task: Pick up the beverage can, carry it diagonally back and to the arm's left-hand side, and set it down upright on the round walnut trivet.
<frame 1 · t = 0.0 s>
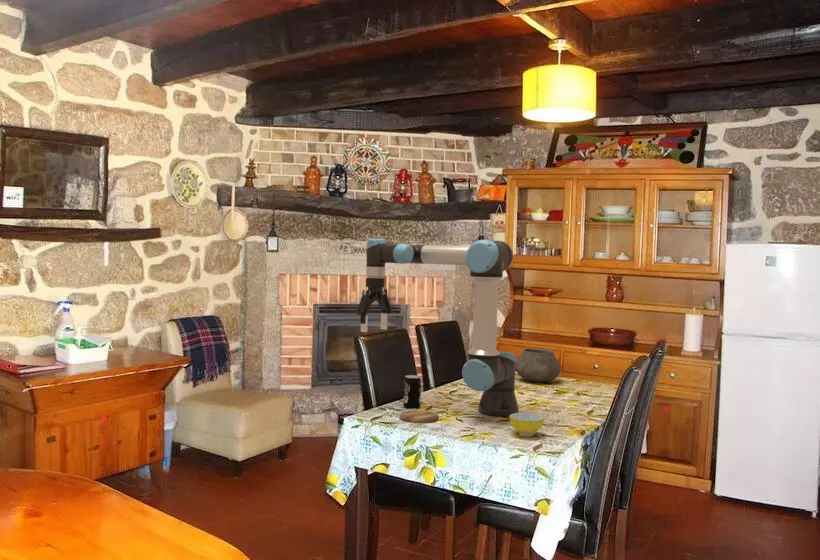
hand: (374, 330, 281), 28 cm above the table, fingers open, 13 cm apart
beverage can: (411, 407, 271), on the table
bowl: (526, 435, 234), on the table
clay pot: (536, 381, 335), on the table
trivet: (419, 418, 253), on the table
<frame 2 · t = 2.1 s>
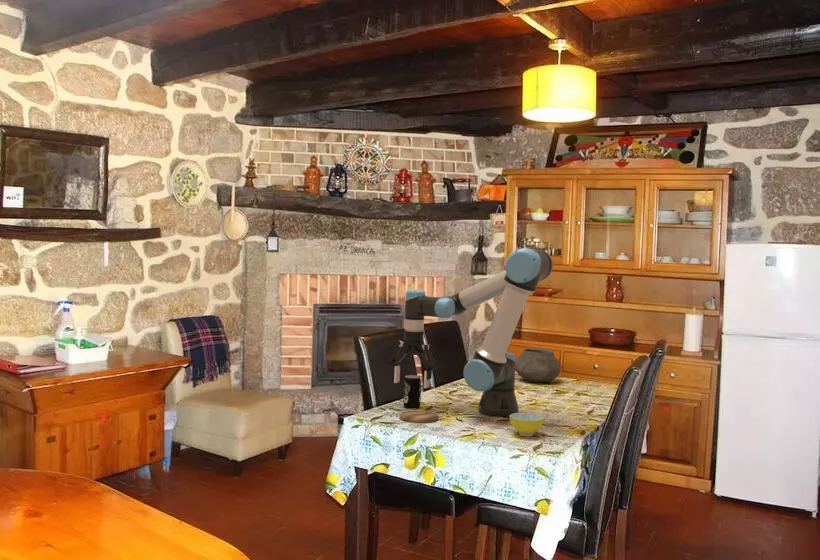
hand: (411, 385, 271), 8 cm above the table, fingers open, 13 cm apart
nothing on the table moved.
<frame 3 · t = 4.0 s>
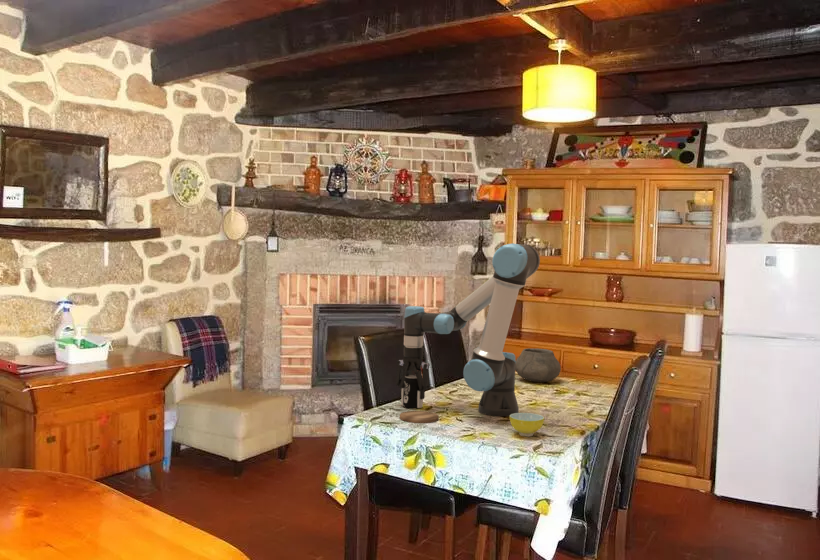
hand: (411, 405, 271), 0 cm above the table, fingers closed on beverage can, 7 cm apart
beverage can: (411, 407, 271), on the table, touching gripper
everything else where it was.
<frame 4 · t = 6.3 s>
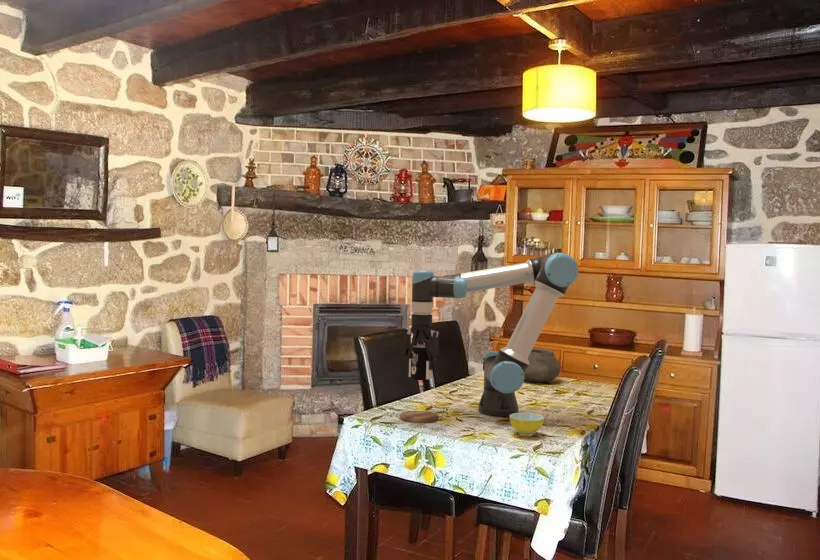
hand: (420, 377, 252), 15 cm above the table, fingers closed on beverage can, 7 cm apart
beverage can: (420, 379, 252), point 14 cm above the table, touching gripper
everything else where it was.
when the fingers open (3 cm above the table, at t = 9.1 s): beverage can drops 1 cm, resting on trivet.
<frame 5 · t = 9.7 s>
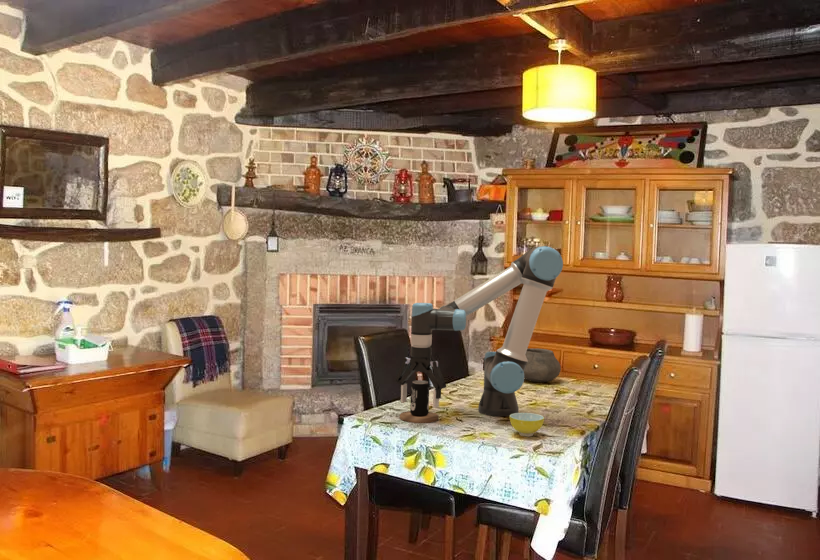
hand: (419, 404, 253), 5 cm above the table, fingers open, 13 cm apart
beverage can: (419, 415, 253), point 1 cm above the table, touching trivet
everything else where it was.
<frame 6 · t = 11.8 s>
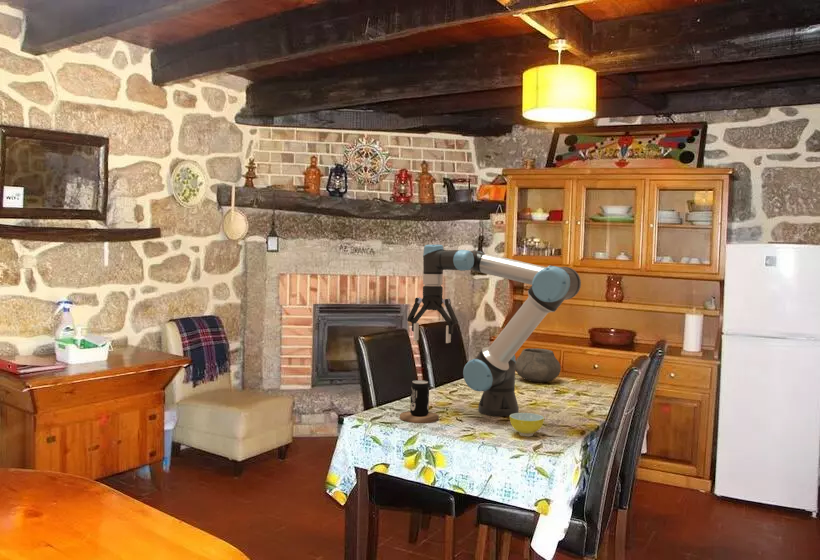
hand: (431, 341, 266), 26 cm above the table, fingers open, 13 cm apart
nothing on the table moved.
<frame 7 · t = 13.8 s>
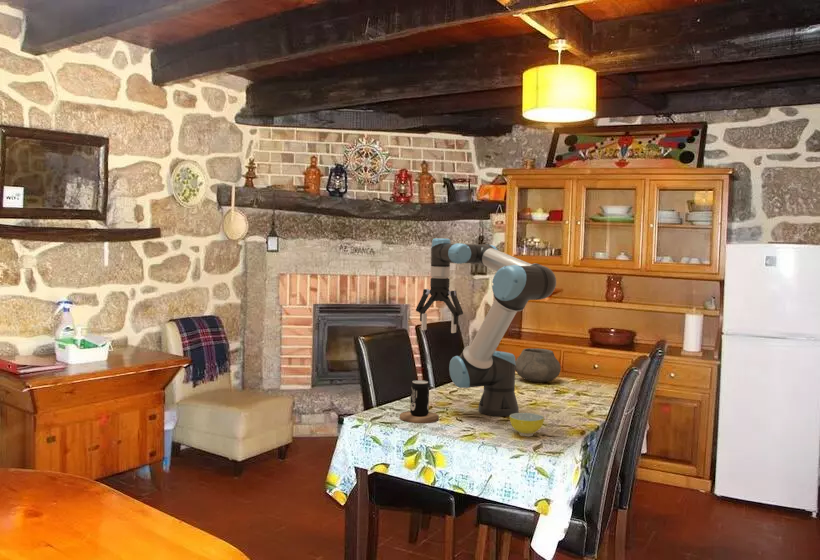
hand: (438, 331, 278), 29 cm above the table, fingers open, 13 cm apart
nothing on the table moved.
at the end: beverage can 0.0 cm from the trivet (horizontally); beverage can tilted 0°; the gripper is holding nothing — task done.
